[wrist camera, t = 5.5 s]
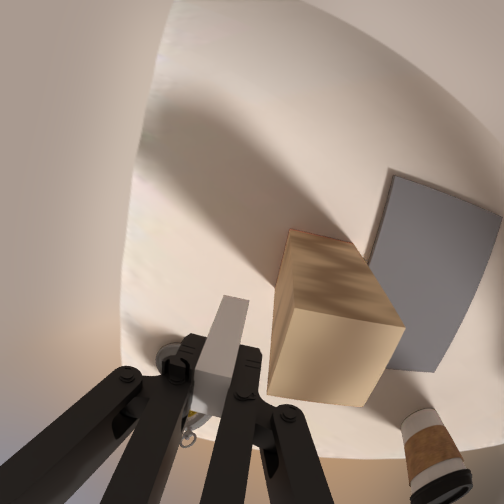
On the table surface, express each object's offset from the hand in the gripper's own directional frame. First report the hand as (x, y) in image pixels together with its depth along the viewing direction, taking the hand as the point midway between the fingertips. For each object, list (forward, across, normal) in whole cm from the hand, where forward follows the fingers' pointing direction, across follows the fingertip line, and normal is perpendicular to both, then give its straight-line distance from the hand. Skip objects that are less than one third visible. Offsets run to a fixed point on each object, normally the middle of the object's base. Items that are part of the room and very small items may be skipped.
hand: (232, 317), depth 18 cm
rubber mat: (+11, -18, 0) cm, 21 cm away
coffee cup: (+12, -29, +20) cm, 37 cm away
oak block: (+11, -6, 0) cm, 13 cm away
